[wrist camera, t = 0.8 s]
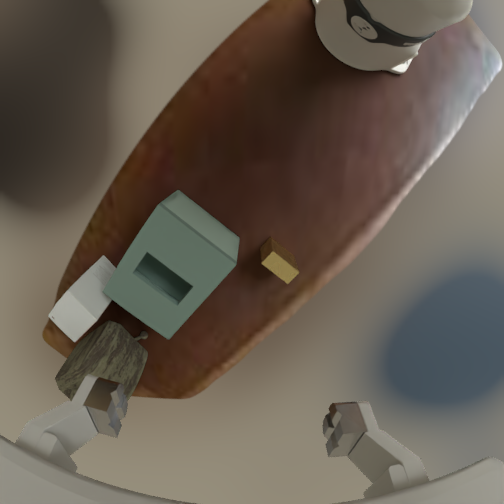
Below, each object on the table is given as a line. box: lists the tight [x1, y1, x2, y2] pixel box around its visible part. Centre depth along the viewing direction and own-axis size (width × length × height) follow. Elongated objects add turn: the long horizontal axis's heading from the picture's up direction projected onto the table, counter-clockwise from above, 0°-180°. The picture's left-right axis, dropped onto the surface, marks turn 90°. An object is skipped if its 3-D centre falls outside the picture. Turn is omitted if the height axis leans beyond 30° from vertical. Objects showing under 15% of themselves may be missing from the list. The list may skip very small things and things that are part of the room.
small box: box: [48, 255, 116, 342], centre depth 42 cm, size 8×6×13 cm
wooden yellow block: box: [260, 237, 299, 284], centre depth 44 cm, size 2×5×6 cm, turn 50°
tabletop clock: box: [55, 321, 148, 401], centre depth 41 cm, size 14×9×25 cm, turn 125°
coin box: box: [102, 190, 240, 340], centre depth 42 cm, size 16×12×10 cm
